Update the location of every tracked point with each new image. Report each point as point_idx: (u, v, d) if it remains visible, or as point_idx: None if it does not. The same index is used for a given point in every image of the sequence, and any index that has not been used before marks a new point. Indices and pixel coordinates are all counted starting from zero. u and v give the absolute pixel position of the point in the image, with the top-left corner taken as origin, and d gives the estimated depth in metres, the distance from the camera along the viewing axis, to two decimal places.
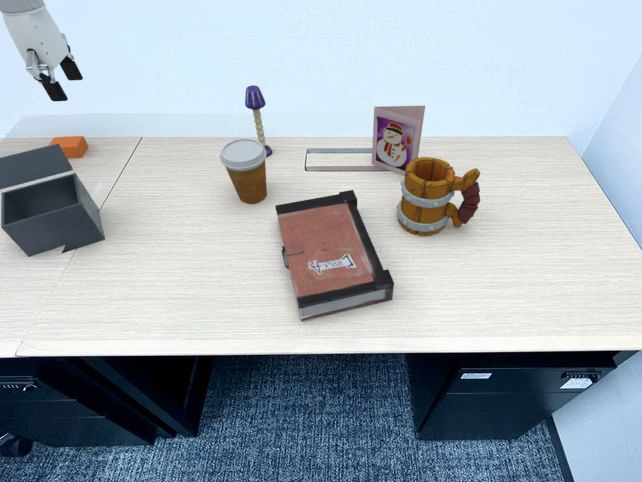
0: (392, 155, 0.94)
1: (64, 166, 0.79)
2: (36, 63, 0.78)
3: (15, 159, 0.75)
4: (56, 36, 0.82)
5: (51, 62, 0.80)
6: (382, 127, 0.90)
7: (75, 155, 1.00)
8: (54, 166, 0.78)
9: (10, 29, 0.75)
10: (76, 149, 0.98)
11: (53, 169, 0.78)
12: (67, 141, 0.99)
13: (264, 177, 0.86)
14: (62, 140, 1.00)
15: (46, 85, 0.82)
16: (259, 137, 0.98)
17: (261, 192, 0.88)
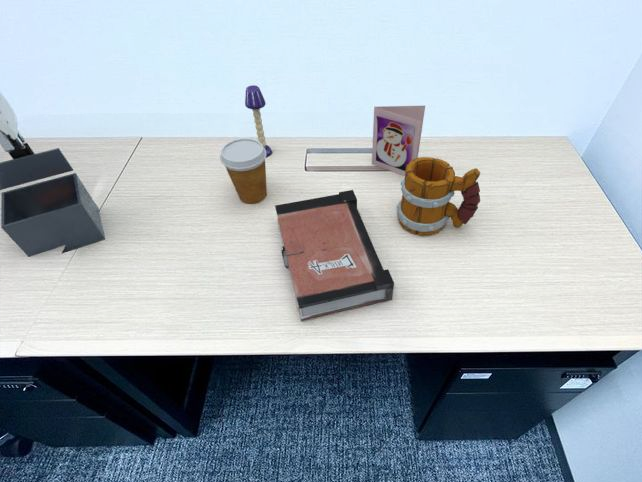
0: (392, 155, 0.94)
1: (64, 168, 0.79)
2: (6, 137, 0.69)
3: (15, 164, 0.74)
4: (5, 102, 0.70)
5: (13, 131, 0.69)
6: (382, 127, 0.90)
7: None
8: (54, 168, 0.78)
9: None
10: None
11: (53, 171, 0.78)
12: None
13: (264, 177, 0.86)
14: None
15: (15, 152, 0.74)
16: (259, 137, 0.98)
17: (261, 192, 0.88)
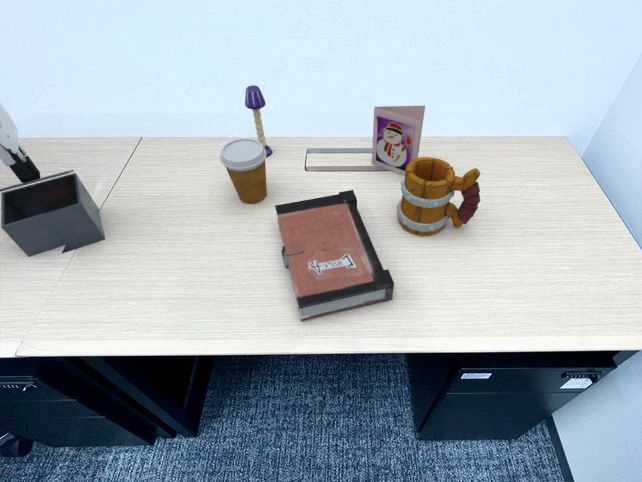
0: (392, 155, 0.94)
1: None
2: (7, 151, 0.67)
3: None
4: (6, 114, 0.68)
5: (14, 145, 0.67)
6: (382, 127, 0.90)
7: None
8: None
9: None
10: None
11: None
12: None
13: (264, 177, 0.86)
14: None
15: (16, 166, 0.71)
16: (259, 137, 0.98)
17: (261, 192, 0.88)
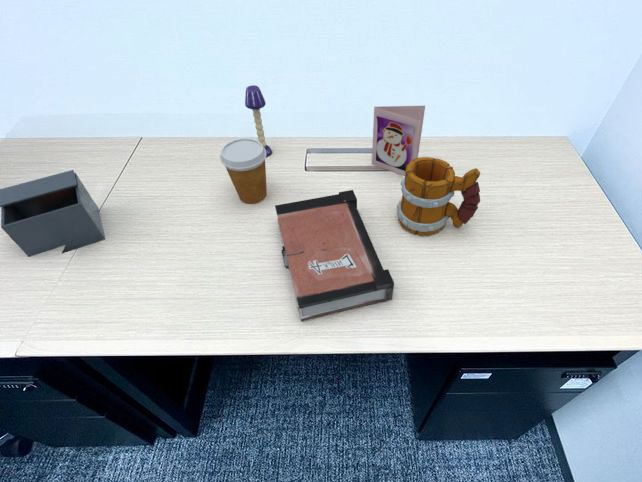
0: (392, 155, 0.94)
1: None
2: None
3: None
4: None
5: None
6: (382, 127, 0.90)
7: None
8: None
9: None
10: None
11: None
12: None
13: (264, 177, 0.86)
14: None
15: None
16: (259, 137, 0.98)
17: (261, 192, 0.88)
